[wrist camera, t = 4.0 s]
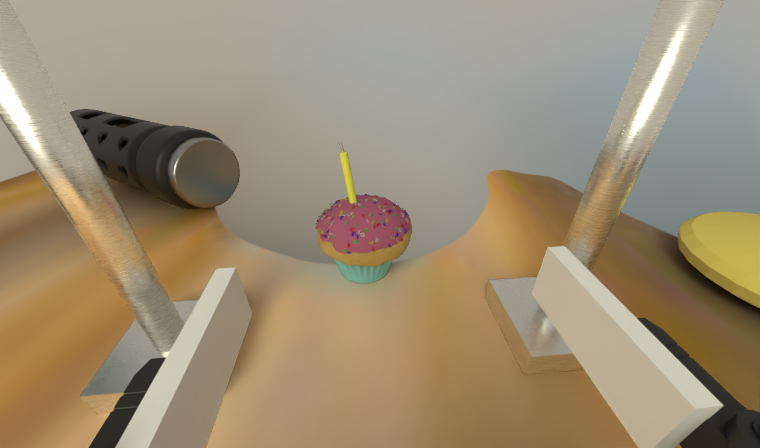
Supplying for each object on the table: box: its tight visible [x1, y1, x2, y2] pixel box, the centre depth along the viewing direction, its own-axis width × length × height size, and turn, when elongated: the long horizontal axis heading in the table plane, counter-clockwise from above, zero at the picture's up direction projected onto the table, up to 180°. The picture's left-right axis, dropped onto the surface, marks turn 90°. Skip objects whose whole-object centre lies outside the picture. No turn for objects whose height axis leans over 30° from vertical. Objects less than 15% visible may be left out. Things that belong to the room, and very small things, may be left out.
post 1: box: [0, 0, 198, 414], centre depth 14 cm, size 7×7×26 cm
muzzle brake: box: [70, 109, 240, 209], centre depth 41 cm, size 10×28×10 cm, turn 61°
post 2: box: [485, 0, 724, 375], centre depth 16 cm, size 7×7×26 cm
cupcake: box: [316, 142, 412, 283], centre depth 26 cm, size 9×8×12 cm
